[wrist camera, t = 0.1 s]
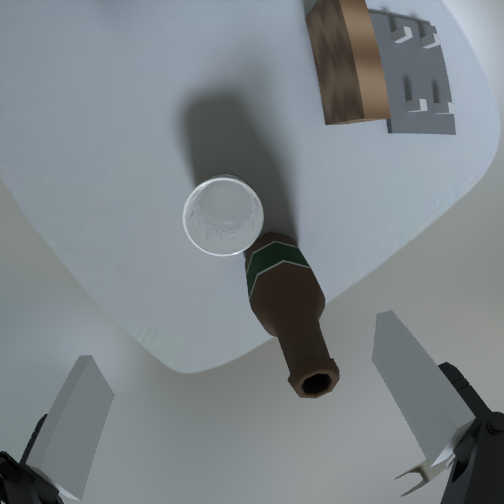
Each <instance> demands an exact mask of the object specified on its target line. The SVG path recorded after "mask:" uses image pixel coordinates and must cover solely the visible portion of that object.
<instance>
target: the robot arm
mask: <svg viewBox="0 0 504 504" xmlns="http://www.w3.org/2000/svg"><path fill="white" fill-rule="evenodd" d="M376 319H377V320H376V329H375V338H374V347H373V354H372V361H373V363H374V364H375V366H376V368H377V369H378V371H379V373H380V375H381V376H382V378H383V379H384V382H385V383H386V385H387V387H388V389H389V390H390V392H391V394H392V396H393V397H394V399H395V401H396V403H397V405H398V406H399V408H400V410H401V412H402V414H403V415H404V417H405V419H406V421H407V423H408V425H409V427H410V428H411V430H412V432H413V434H414V436H415V437H416V439H417V442H418V443H419V445H420V447H421V449H422V451H423V453H424V455H425V457H426V459H427V461H428V463H429V465H430V467H432V466H434V465H436V464H438V463H440V462H442V461H443V460H445V459H447V458H448V457H449V456H450V454H451V453H452V452H454V454H455V455H456V457H455V458H454V459H453V460H452V462H451V463H450V464H449V466H448V468H447V469H450V468H451V467H452V470H451V473H450V476H449V480H448V483H447V486H446V489H445V492H444V495H443V498H442V501H441V503H440V504H504V414H503V413H500V412H492V411H491V410H490V409H489V408H488V407H487V406H486V404H485V403H484V402H483V400H482V399H481V398H480V396H479V395H478V394H477V392H476V391H475V390H474V389H473V387H472V386H471V385H469V382H468V381H467V380H466V379H465V378H464V376H463V375H462V374H461V373H460V371H459V370H458V369H457V368H456V367H454V366H453V365H451V364H449V363H448V362H445V363H443V364H440V365H438V366H437V365H436V363H435V362H434V361H433V359H432V358H431V357H430V356H429V354H428V353H427V352H426V351H425V350H424V348H423V347H422V346H421V345H420V343H419V342H418V341H417V340H416V338H415V337H414V336H413V335H412V334H411V333H410V331H409V330H408V329H407V328H406V327H405V326H404V324H403V323H402V322H401V321H400V319H399V318H398V317H397V316H396V315H395V313H394V312H393V311H392V310H391V311H387V312H383V313H380V314H377V318H376ZM113 398H114V393H113V391H112V390H111V388H110V387H109V385H108V383H107V381H106V380H105V378H104V376H103V375H102V373H101V371H100V370H99V368H98V366H97V364H96V363H95V361H94V359H93V357H92V356H79V358H78V360H77V361H76V363H75V364H74V366H73V368H72V370H71V372H70V374H69V375H68V377H67V379H66V381H65V383H64V384H63V386H62V388H61V390H60V392H59V394H58V396H57V397H56V399H55V401H54V403H53V405H52V407H51V409H50V412H49V413H48V414H45V415H44V416H43V417H42V418H41V419H40V420H39V422H38V424H37V426H36V428H35V432H33V434H32V436H31V437H32V438H31V439H30V440H29V443H28V445H27V447H26V449H25V451H24V454H23V456H22V458H21V460H20V463H17V462H16V461H15V460H14V459H13V458H12V457H11V456H10V455H9V454H8V453H7V452H4V451H1V452H0V504H1V501H2V502H4V503H5V504H64V503H63V501H62V499H61V498H60V496H58V493H59V491H60V492H61V493H62V494H64V495H65V496H67V497H69V498H72V499H75V500H79V501H81V500H82V497H83V493H84V489H85V485H86V482H87V478H88V475H89V471H90V468H91V464H92V461H93V458H94V454H95V451H96V448H97V445H98V442H99V439H100V435H101V432H102V430H103V427H104V424H105V420H106V418H107V415H108V412H109V409H110V406H111V404H112V401H113Z"/></svg>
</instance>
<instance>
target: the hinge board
mask: <svg viewBox="0 0 504 504" xmlns="http://www.w3.org/2000/svg"><path fill="white" fill-rule="evenodd" d="M369 15H370V19H371V22H372V26H373V29H374V33H375V37H376V41H377V45H378V49H379V53H380V58H381V62H382V67H383V72H384V77H385V83H386V88H387V94H388V100H389V107H390V114H391V118H390V119H387V126H388V133H426V134H450V135H456V132H455V122H454V114H455V111H454V103H452V99H451V93H450V87H449V81H448V76H447V71H446V66H445V62H444V58H443V54H442V50H441V46H440V44H441V41H440V37H439V35H438V34H437V31H436V28H435V26H431V25H427V24H424V23H420V22H416V21H411V20H407V19H403V18H398V17H393V16H387V15H382V14H376V13H369Z"/></svg>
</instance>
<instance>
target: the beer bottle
mask: <svg viewBox="0 0 504 504" xmlns="http://www.w3.org/2000/svg"><path fill="white" fill-rule="evenodd" d="M245 270H246V278H247V286H248V295H249V302H250V305H251V309H252V311H253V312H254V314H255V315H256V317H257V318H258V320H259V321H260V323H261V324H262V326H263V327H264V329H265V330H266V331H267V332H268V333H269V334H270V335H272V336H276V337H278V339H279V342H280V345H281V348H282V351H283V353H284V356H285V360H286V362H287V365H288V368H289V371H290V376H289V378H288V382H289V383H290V385H291V386H292V387H293V389H294V390H295V391H296V393H297V394H298V395H299V397H303V398H318V397H320V396H322V395H324V394H326V393H329V392H331V391H332V390H333V388H334V387H335V385H336V384H337V382H338V380H339V369H338V367H337V365H336V363H335V361H334V359H332V358H330V356H329V353H328V350H327V347H326V344H325V341H324V338H323V336H322V332H321V329H320V324H319V318H320V316H321V314H322V312H323V310H324V308H325V297H324V294H323V292H322V290H321V288H320V286H319V284H318V281H317V279H316V277H315V275H314V273H313V271H312V269H311V267H310V266H309V264H308V263H307V261H306V259H305V258H304V256H303V255H302V253H301V251H300V250H299V248H298V247H297V245H296V244H295V242H294V241H293V239H292V238H291V237H287V236H284V235H280V234H276V233H273V232H269V233H267V234H266V235H264V236H262V237H260V238H258V239H256V240H255V242H254V243H253V244H252V245H251V246H250V248H249V251H248V254H247V258H246V261H245Z"/></svg>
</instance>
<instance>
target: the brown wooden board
mask: <svg viewBox="0 0 504 504" xmlns="http://www.w3.org/2000/svg"><path fill="white" fill-rule="evenodd" d="M305 20H306V24H307V28H308V32H309V37H310V41H311V46H312V50H313V55H314V60H315V65H316V70H317V76H318V81H319V87H320V92H321V98H322V104H323V111H324V117H325V124H326V125H336V124H350V123H357V122H364V121H372V120H381V119H390V118H391V114H390V107H389V100H388V94H387V88H386V83H385V77H384V72H383V67H382V62H381V58H380V53H379V49H378V45H377V41H376V37H375V33H374V29H373V26H372V22H371V19H370V15H369V12H368V9H367V5H366V2H365V0H318V1H317V3H316V4H315V6H314V7H313V9H312V10H311V12H310V13H309V15H308V16H307V18H306V19H305Z"/></svg>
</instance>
